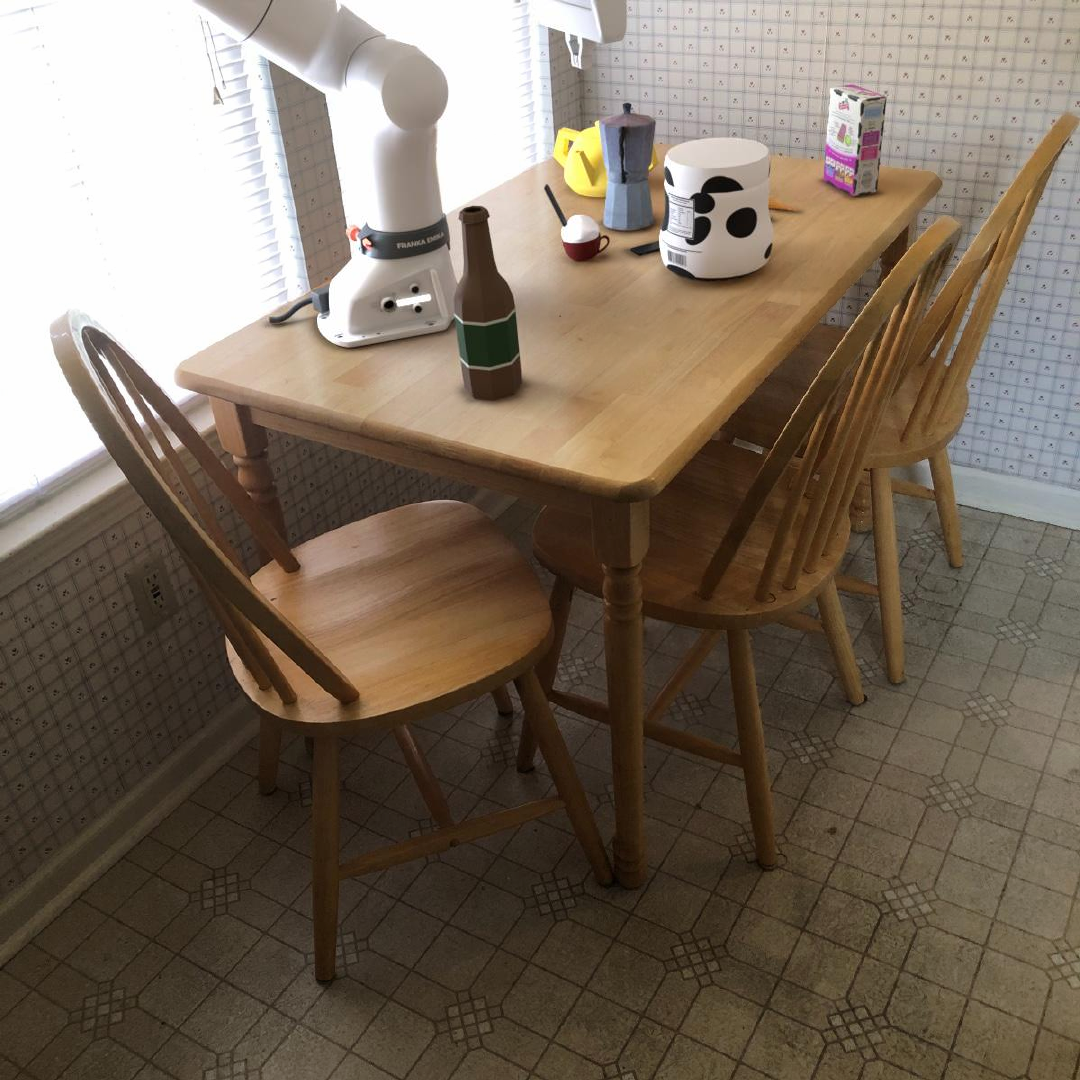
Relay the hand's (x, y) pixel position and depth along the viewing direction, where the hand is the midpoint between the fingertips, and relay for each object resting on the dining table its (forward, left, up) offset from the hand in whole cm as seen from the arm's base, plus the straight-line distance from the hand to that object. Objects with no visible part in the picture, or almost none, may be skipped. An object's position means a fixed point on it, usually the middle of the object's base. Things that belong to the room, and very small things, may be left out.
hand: (581, 67), depth 159 cm
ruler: (+23, +4, -31) cm, 39 cm away
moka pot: (+16, +16, -31) cm, 39 cm away
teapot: (+23, +37, -31) cm, 54 cm away
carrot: (+37, +12, -31) cm, 50 cm away
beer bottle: (-29, -26, -31) cm, 50 cm away
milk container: (+17, -9, -31) cm, 37 cm away
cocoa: (+2, +8, -31) cm, 32 cm away
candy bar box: (+57, +8, -31) cm, 65 cm away
